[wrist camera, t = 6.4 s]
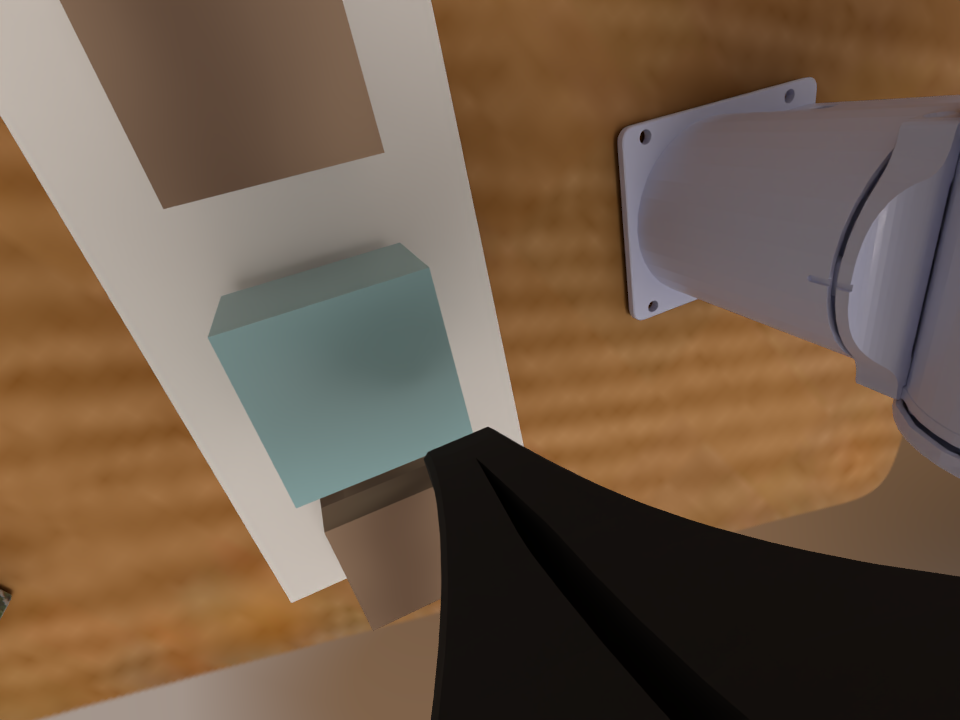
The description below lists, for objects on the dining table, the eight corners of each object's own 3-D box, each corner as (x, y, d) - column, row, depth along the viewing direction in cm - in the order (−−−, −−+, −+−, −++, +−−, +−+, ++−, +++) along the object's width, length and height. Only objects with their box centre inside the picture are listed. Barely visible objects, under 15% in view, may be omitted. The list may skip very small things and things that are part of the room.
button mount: (397, -83, 14) (429, -142, 11) (519, 475, 24) (554, 523, 21) (-51, -18, 12) (-162, -70, 9) (290, 575, 22) (293, 646, 19)
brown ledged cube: (300, -65, 12) (308, -122, 10) (364, 149, 15) (384, 152, 12) (78, -33, 11) (16, -86, 9) (185, 194, 14) (163, 209, 11)
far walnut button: (444, 422, 19) (472, 470, 17) (471, 515, 22) (500, 570, 19) (316, 472, 18) (324, 532, 16) (359, 565, 21) (373, 631, 18)
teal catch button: (399, 242, 14) (429, 267, 12) (441, 387, 17) (473, 436, 14) (220, 296, 13) (207, 337, 11) (292, 443, 16) (296, 508, 13)
